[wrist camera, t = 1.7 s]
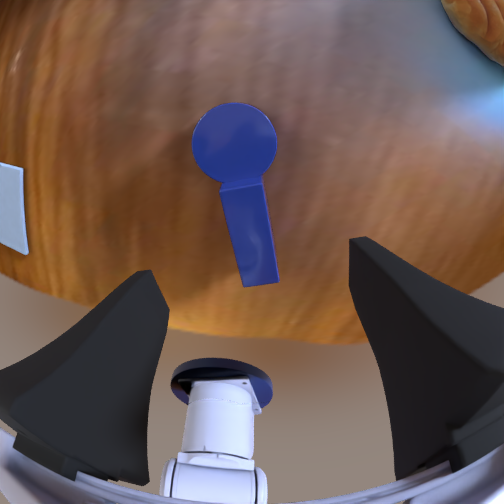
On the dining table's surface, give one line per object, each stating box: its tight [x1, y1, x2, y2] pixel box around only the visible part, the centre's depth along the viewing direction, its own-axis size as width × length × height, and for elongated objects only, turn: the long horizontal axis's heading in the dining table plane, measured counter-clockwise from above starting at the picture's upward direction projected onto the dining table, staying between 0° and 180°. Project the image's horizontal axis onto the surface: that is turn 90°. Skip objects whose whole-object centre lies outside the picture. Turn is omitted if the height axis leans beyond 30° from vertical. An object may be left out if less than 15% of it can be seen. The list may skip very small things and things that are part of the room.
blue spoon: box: [192, 103, 280, 287], centre depth 12 cm, size 8×4×3 cm, turn 11°
